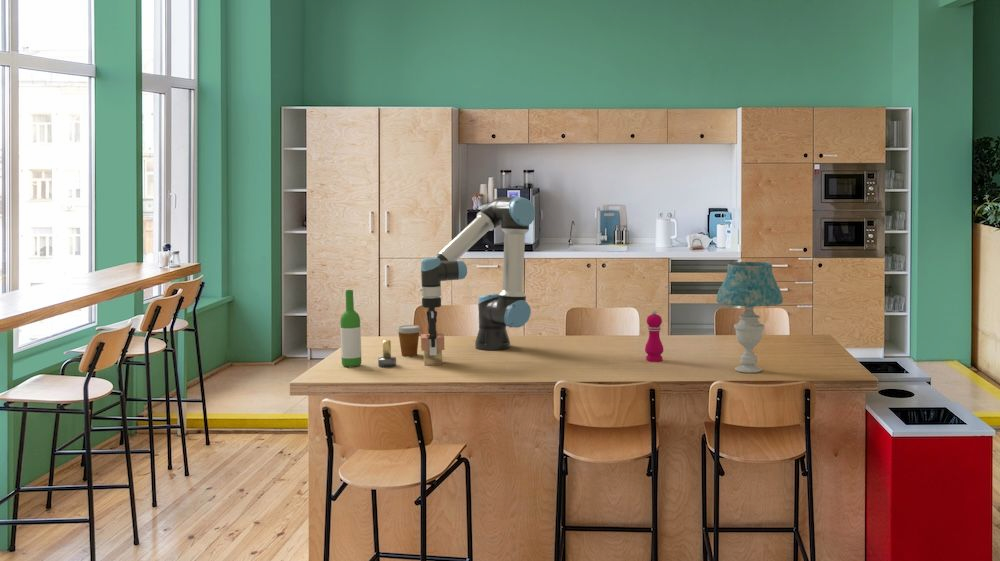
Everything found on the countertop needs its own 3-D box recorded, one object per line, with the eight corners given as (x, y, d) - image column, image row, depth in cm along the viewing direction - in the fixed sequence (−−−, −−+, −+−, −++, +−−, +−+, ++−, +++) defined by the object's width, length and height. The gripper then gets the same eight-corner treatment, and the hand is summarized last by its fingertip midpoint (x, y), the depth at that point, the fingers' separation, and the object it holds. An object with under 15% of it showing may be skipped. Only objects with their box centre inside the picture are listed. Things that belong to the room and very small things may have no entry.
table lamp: (793, 375, 359) (795, 265, 355) (732, 379, 354) (733, 268, 350) (763, 363, 382) (764, 260, 378) (705, 366, 377) (706, 262, 373)
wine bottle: (345, 368, 385) (342, 291, 382) (339, 365, 392) (336, 289, 389) (364, 366, 389) (362, 290, 385) (357, 363, 396) (355, 288, 392)
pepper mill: (664, 359, 393) (665, 309, 391) (661, 362, 386) (661, 312, 384) (646, 358, 395) (646, 308, 393) (643, 361, 389) (643, 311, 387)
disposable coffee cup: (417, 357, 405) (416, 328, 404) (394, 357, 407) (394, 328, 406) (423, 353, 414) (422, 325, 413) (401, 352, 416) (401, 324, 415)
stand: (441, 361, 396) (441, 346, 396) (442, 364, 390) (441, 349, 389) (423, 361, 396) (423, 347, 395) (424, 365, 389) (424, 350, 388)
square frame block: (443, 345, 397) (443, 333, 396) (444, 349, 388) (444, 337, 387) (420, 346, 396) (420, 334, 395) (421, 350, 387) (421, 338, 387)
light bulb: (396, 363, 393) (395, 338, 392) (396, 367, 386) (395, 341, 385) (378, 364, 392) (377, 339, 391) (378, 367, 385) (377, 342, 384)
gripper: (421, 293, 400) (422, 348, 403) (422, 300, 378) (424, 358, 381) (439, 293, 401) (440, 347, 404) (442, 300, 379) (443, 357, 382)
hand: (432, 352), depth 392 cm, fingers open, 10 cm apart
